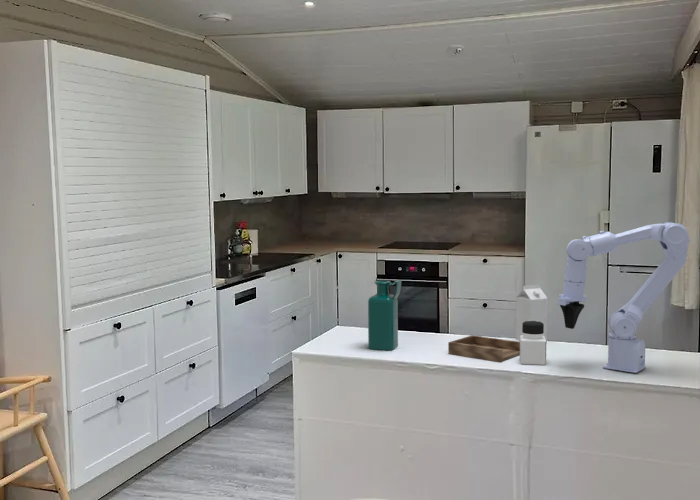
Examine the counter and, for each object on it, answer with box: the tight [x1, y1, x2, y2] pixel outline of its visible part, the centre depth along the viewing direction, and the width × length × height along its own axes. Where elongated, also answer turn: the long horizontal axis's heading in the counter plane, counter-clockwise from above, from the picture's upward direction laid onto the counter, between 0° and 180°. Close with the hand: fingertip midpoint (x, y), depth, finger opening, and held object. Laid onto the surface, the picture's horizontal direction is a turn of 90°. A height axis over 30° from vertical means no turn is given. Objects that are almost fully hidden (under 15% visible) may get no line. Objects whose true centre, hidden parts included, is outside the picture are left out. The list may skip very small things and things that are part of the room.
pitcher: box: [367, 279, 402, 352], centre depth 226 cm, size 10×8×22 cm
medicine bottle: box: [519, 321, 547, 366], centre depth 206 cm, size 7×7×12 cm
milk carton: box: [515, 284, 548, 342], centre depth 233 cm, size 7×7×19 cm
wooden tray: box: [447, 335, 520, 363], centre depth 217 cm, size 18×14×4 cm
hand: (569, 328), depth 202 cm, fingers closed
